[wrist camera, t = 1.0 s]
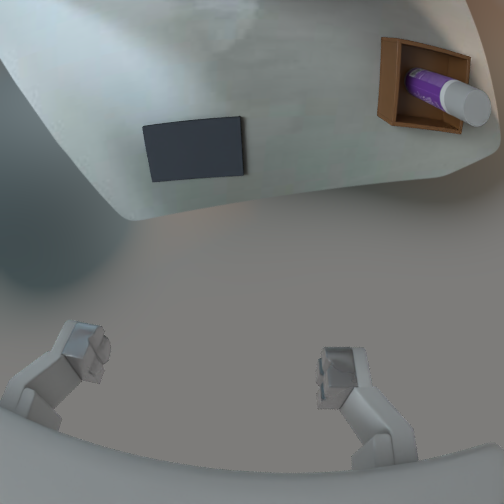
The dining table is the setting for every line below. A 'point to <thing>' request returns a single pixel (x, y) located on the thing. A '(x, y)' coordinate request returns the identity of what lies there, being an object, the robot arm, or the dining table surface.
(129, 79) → the dining table surface
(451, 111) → the container
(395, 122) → the wooden tray
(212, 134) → the pad
